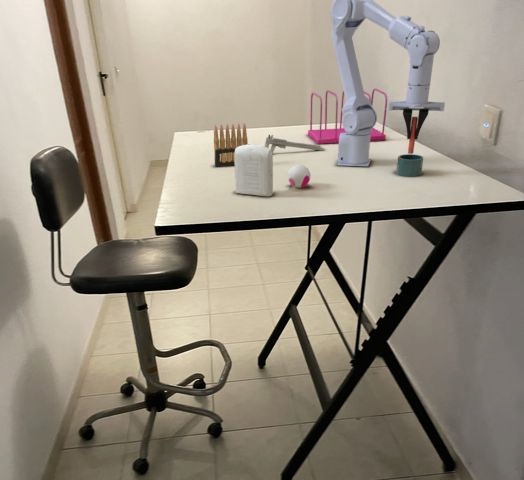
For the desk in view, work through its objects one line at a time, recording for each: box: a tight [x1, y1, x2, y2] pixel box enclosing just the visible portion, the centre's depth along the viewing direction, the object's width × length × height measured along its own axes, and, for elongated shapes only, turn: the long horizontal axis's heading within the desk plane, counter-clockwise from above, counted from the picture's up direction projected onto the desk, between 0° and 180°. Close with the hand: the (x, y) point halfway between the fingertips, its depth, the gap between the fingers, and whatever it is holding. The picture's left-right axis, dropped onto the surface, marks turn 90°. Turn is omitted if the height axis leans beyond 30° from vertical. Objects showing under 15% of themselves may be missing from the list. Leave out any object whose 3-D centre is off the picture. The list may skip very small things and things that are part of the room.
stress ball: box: [287, 164, 311, 189], centre depth 142 cm, size 8×8×7 cm
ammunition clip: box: [213, 123, 249, 168], centre depth 162 cm, size 11×2×12 cm, turn 101°
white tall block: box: [234, 143, 274, 197], centre depth 136 cm, size 10×4×12 cm, turn 69°
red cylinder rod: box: [407, 116, 418, 154], centre depth 147 cm, size 2×2×10 cm
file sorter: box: [307, 87, 388, 145], centre depth 191 cm, size 17×25×16 cm
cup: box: [396, 153, 424, 177], centre depth 151 cm, size 7×7×4 cm
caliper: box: [264, 134, 325, 153], centre depth 176 cm, size 20×1×6 cm, turn 102°
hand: (412, 138), depth 147 cm, fingers closed on red cylinder rod, 1 cm apart
